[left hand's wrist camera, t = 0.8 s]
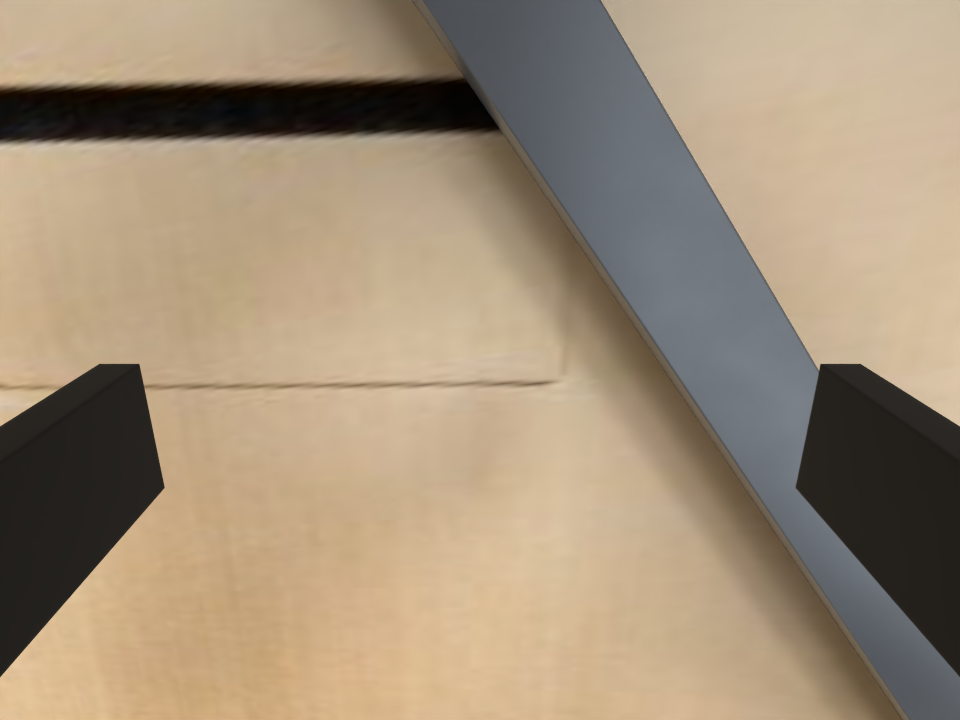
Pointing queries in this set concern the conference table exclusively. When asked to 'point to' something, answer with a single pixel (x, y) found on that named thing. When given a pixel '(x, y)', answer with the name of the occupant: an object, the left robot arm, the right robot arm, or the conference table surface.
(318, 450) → the conference table surface
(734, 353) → the beam
